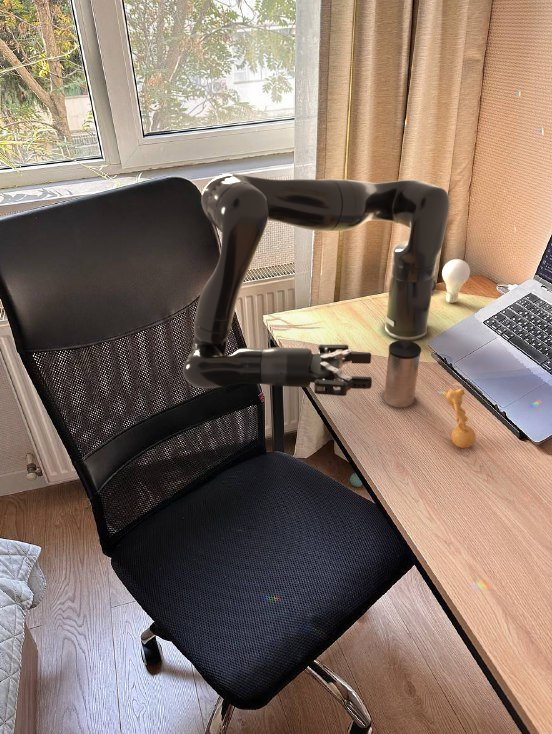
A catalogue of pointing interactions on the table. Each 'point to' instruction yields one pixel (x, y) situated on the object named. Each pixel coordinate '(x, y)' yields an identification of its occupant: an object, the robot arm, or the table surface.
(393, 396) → the canister
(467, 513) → the table surface
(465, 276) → the lightbulb
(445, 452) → the table surface
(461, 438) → the figurine
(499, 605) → the table surface
